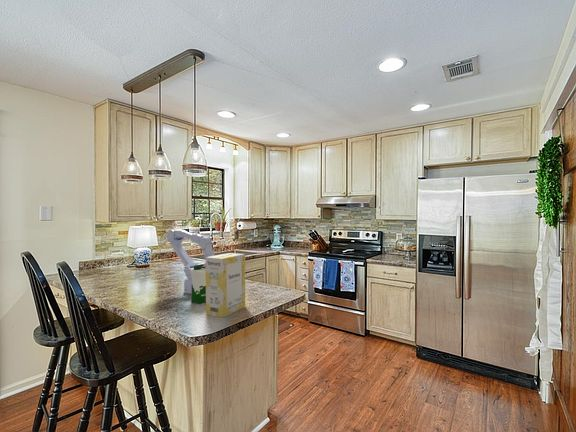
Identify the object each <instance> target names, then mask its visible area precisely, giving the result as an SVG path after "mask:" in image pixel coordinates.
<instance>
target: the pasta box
mask: <svg viewBox="0 0 576 432" xmlns="http://www.w3.org/2000/svg"><path fill="white" fill-rule="evenodd" d="M205 263H206V302H205V314H206V315H208V316H213V317H218V318H225V317H227V316H229V315H231V314H234V313H236V312H238V311H239V310H241V309H244V308H246V254H245V253H237V252H235V253H233V252H227V253H222V254H216V255H214V256H210V257H206V260H205Z"/></svg>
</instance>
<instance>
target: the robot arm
mask: <svg viewBox="0 0 576 432" xmlns="http://www.w3.org/2000/svg"><path fill="white" fill-rule="evenodd" d="M166 238H167V240H168V242H169V244H170V246H171V248H172V249H173V251H174V253H175V254H176V255H177V257H178V258H179V259H180V261H181V263H182V264H183V265H184V270H183V272H184V274H185V277H186V278H185V279H184V282H183V294H188V295H189V294H190V295H192V278H191V272H190V270H192V269H194V266H195V265H199V264H198V263H196V262H194V261H193V260H192V259H191V257H190V256H189V254H188V253H187V251H186V250H185V248H184V247H183V245H182V243H183V241H184V238H185V239H189V240H190V241H191V242H192V243H195V244H197V245H198V246H199V247H200V249H201V250H202V252H203V253H202V254H203V257H204V259H205V261H206V257H210V256H215V253H214V250H213V247H212V242H213V239H212V238H211V237H210V236H209V235H208V236H205V235H204V234H199V233H198V232H194V233H191V232H189V231H186V230H185V229H183V228H179V229H169V230H167V233H166ZM202 266H203V268H205V269H206V262H204V263H203V265H202Z"/></svg>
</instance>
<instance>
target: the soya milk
mask: <svg viewBox="0 0 576 432" xmlns="http://www.w3.org/2000/svg"><path fill="white" fill-rule="evenodd" d="M190 272H191V278H192V294H191V295H190V297H191V298H190V300H191V301H190V302H191V303H194V304H198V305H200V304H205V303H206V269H205V267H202V265H201V264H198V265H195V266H194V269H192V270H190Z"/></svg>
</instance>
